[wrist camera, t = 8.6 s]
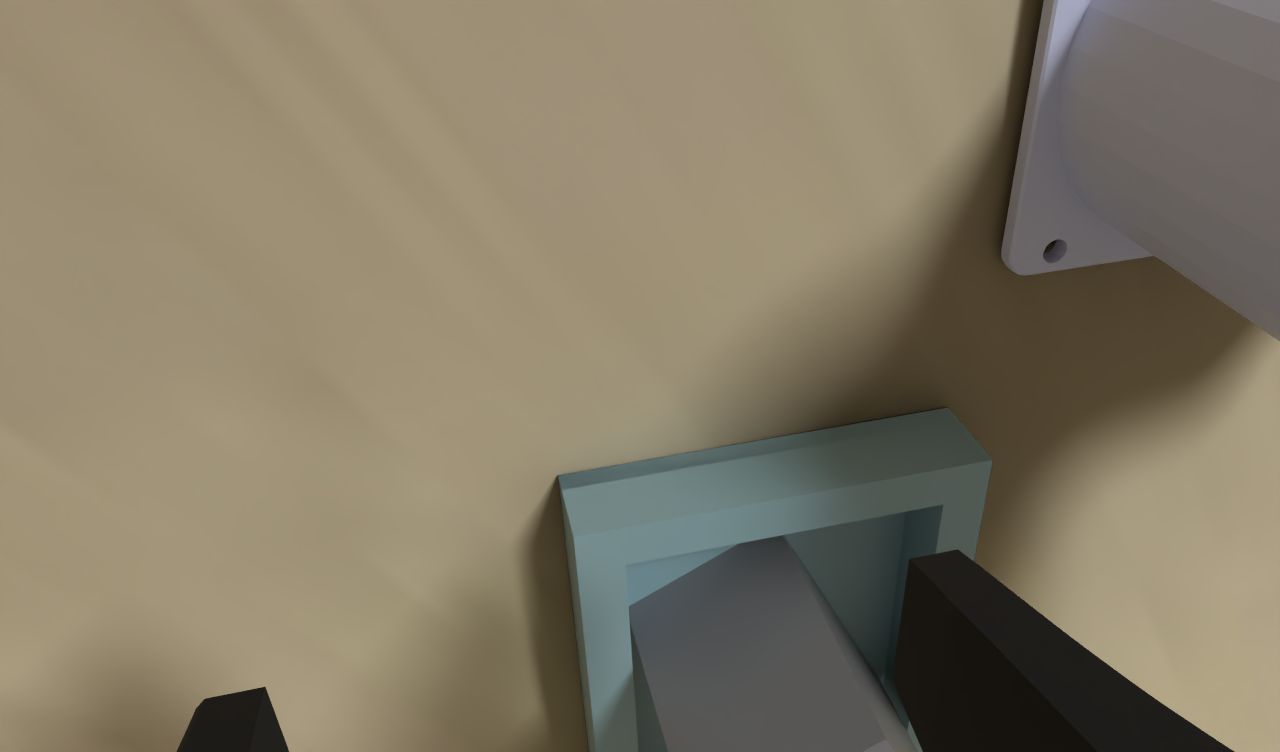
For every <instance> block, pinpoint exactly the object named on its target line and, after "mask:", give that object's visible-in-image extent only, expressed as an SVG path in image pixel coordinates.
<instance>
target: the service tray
mask: <svg viewBox="0 0 1280 752" xmlns="http://www.w3.org/2000/svg"><path fill="white" fill-rule="evenodd" d="M992 463H993V459H992V458H991V457H990V456H989V455H988V453H987V452H986V451H985V450H984V449H983V447H982V446H981V445H980V444H979V443H978V442H977V440H976V439H975V438H974V437H973V436H972V434H971V433H970V432H969V431H968V430H967V429H966V427H965V426H964V425H963V424H962V423H961V421H960V420H959V419H958V418H957V417H956V416H955V414H954V413H953V412H952V411H951V410H950V408H943V409H937V410H931V411H926V412H920V413H914V414H908V415H903V416H897V417H891V418H885V419H880V420H874V421H868V422H862V423H857V424H851V425H845V426H839V427H834V428H828V429H822V430H816V431H811V432H805V433H799V434H793V435H788V436H782V437H776V438H770V439H765V440H759V441H753V442H747V443H742V444H736V445H730V446H724V447H719V448H713V449H707V450H701V451H696V452H690V453H684V454H678V455H673V456H667V457H661V458H655V459H650V460H644V461H638V462H633V463H627V464H621V465H615V466H610V467H604V468H598V469H592V470H587V471H581V472H575V473H569V474H564V475H558V481H559V490H560V499H561V508H562V517H563V526H564V535H565V544H566V553H567V562H568V571H569V580H570V589H571V598H572V607H573V616H574V625H575V634H576V643H577V652H578V661H579V670H580V679H581V688H582V697H583V706H584V715H585V724H586V733H587V742H588V751H589V752H668V750H667V746H666V743H665V740H664V736H663V733H662V729H661V726H660V723H659V719H658V716H657V712H656V709H655V705H654V702H653V699H652V695H651V692H650V688H649V685H648V682H647V678H646V675H645V671H644V668H643V664H642V661H641V658H640V654H639V651H638V647H637V644H636V641H635V637H634V634H633V630H632V627H631V624H630V620H629V606H630V605H632V604H634V603H635V602H637V601H639V600H641V599H643V598H644V597H646V596H648V595H650V594H651V593H653V592H655V591H657V590H658V589H660V588H662V587H664V586H665V585H667V584H669V583H671V582H672V581H674V580H676V579H678V578H679V577H681V576H683V575H685V574H686V573H688V572H690V571H692V570H693V569H695V568H697V567H699V566H700V565H702V564H704V563H706V562H707V561H709V560H711V559H713V558H714V557H716V556H718V555H720V554H721V553H723V552H725V551H727V550H728V549H730V548H732V547H734V546H735V545H737V544H739V543H744V542H749V541H754V540H760V539H765V538H770V537H775V536H781V535H785V537H786V538H787V540H788V541H789V543H790V545H791V546H792V548H793V549H794V551H795V552H796V554H797V555H798V557H799V558H800V560H801V561H802V563H803V564H804V566H805V567H806V569H807V570H808V572H809V573H810V575H811V576H812V578H813V579H814V581H815V582H816V584H817V585H818V587H819V588H820V590H821V591H822V593H823V595H824V596H825V598H826V599H827V601H828V602H829V604H830V605H831V607H832V608H833V610H834V611H835V613H836V614H837V616H838V617H839V619H840V620H841V622H842V623H843V625H844V626H845V628H846V629H847V631H848V632H849V634H850V635H851V637H852V638H853V640H854V641H855V643H856V645H857V646H858V648H859V649H860V651H861V652H862V654H863V655H864V657H865V658H866V660H867V661H868V663H869V664H870V666H871V667H872V669H873V670H874V672H875V673H876V675H877V676H878V678H879V679H880V681H881V683H882V685H883V687H884V689H885V691H886V692H887V694H888V696H889V698H890V700H891V702H892V704H893V706H894V707H895V709H896V711H897V713H898V715H899V717H900V719H901V721H902V722H903V724H904V726H905V728H906V730H907V732H908V734H909V735H910V737H911V739H912V741H913V743H914V745H915V747H916V749H917V750H918V752H923V751H922V749H921V746H920V744H919V742H918V739H917V737H916V735H915V733H914V730H913V728H912V726H911V723H910V721H909V718H908V716H907V713H906V711H905V708H904V706H903V704H902V701H901V699H900V696H899V694H898V691H897V689H896V686H895V684H894V681H893V679H892V677H893V670H894V663H895V655H896V648H897V641H898V634H899V627H900V620H901V613H902V606H903V599H904V591H905V584H906V577H907V570H908V563H909V559H911V558H916V557H921V556H926V555H932V554H937V553H942V552H947V551H952V550H957V549H958V550H960V551H961V552H962V553H963V554H965V555H966V556H967V557H969V558H970V559H971V560H973V561H974V558H975V553H976V548H977V542H978V537H979V532H980V527H981V521H982V516H983V511H984V505H985V500H986V495H987V489H988V484H989V479H990V474H991V468H992Z"/></svg>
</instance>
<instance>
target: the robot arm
mask: <svg viewBox="0 0 1280 752" xmlns="http://www.w3.org/2000/svg"><path fill="white" fill-rule="evenodd" d="M1054 240H1056V243H1055V245H1054V247H1053V248H1052V249H1051V250H1050V251H1049V252H1048V253H1045V254H1043V252H1044V250H1045V248H1046V246H1047V245H1048V244H1049V243H1051V242H1052V241H1054ZM1001 255H1002V260H1003V262H1004V264H1005V265H1006V266H1007V267H1008V268H1009V269H1010V270H1012V271H1013V272H1015V273H1016V274H1018V275H1034V274H1040V273H1047V272H1053V271H1060V270H1066V269H1073V268H1079V267H1086V266H1092V265H1099V264H1105V263H1112V262H1118V261H1125V260H1132V259H1138V258H1145V257H1151V256H1155V257H1157V258H1158V259H1160V260H1161V261H1163V262H1164V263H1166V264H1167V265H1169V266H1170V267H1171V268H1173V269H1174V270H1176V271H1177V272H1179V273H1180V274H1182V275H1183V276H1185V277H1186V278H1188V279H1189V280H1191V281H1192V282H1193V283H1195V284H1196V285H1198V286H1199V287H1201V288H1202V289H1204V290H1205V291H1207V292H1208V293H1210V294H1211V295H1213V296H1214V297H1215V298H1217V299H1218V300H1220V301H1221V302H1223V303H1224V304H1226V305H1227V306H1229V307H1230V308H1232V309H1233V310H1235V311H1236V312H1237V313H1239V314H1240V315H1242V316H1243V317H1245V318H1246V319H1248V320H1249V321H1251V322H1252V323H1254V324H1255V325H1257V326H1258V327H1260V328H1261V329H1262V330H1264V331H1265V332H1267V333H1268V334H1270V335H1271V336H1273V337H1274V338H1276V339H1277V340H1279V341H1280V0H1044V2H1043V8H1042V14H1041V20H1040V26H1039V32H1038V38H1037V44H1036V50H1035V55H1034V61H1033V67H1032V73H1031V79H1030V85H1029V91H1028V97H1027V103H1026V108H1025V114H1024V120H1023V126H1022V132H1021V138H1020V144H1019V150H1018V156H1017V161H1016V167H1015V173H1014V179H1013V185H1012V191H1011V197H1010V203H1009V209H1008V214H1007V220H1006V226H1005V232H1004V238H1003V244H1002V250H1001ZM892 679H893V681H894V684H895V686H896V689H897V691H898V694H899V696H900V699H901V701H902V704H903V706H904V708H905V711H906V713H907V716H908V718H909V721H910V723H911V726H912V728H913V730H914V733H915V735H916V737H917V739H918V742H919V744H920V746H921V749H922V751H923V752H1234V751H1233V750H1231V749H1229V748H1228V747H1226V746H1225V745H1223V744H1222V743H1220V742H1219V741H1217V740H1216V739H1214V738H1213V737H1211V736H1210V735H1208V734H1207V733H1205V732H1204V731H1202V730H1201V729H1199V728H1198V727H1196V726H1195V725H1193V724H1192V723H1190V722H1189V721H1187V720H1186V719H1184V718H1183V717H1181V716H1180V715H1178V714H1177V713H1175V712H1174V711H1172V710H1171V709H1169V708H1168V707H1166V706H1165V705H1163V704H1162V703H1160V702H1159V701H1158V700H1156V699H1155V698H1153V697H1152V696H1150V695H1149V694H1148V693H1146V692H1145V691H1143V690H1142V689H1141V688H1139V687H1138V686H1136V685H1135V684H1133V683H1132V682H1131V681H1129V680H1128V679H1127V678H1125V677H1124V676H1123V675H1121V674H1120V673H1118V672H1117V671H1116V670H1114V669H1113V668H1112V667H1110V666H1109V665H1108V664H1106V663H1105V662H1103V661H1102V660H1101V659H1099V658H1098V657H1097V656H1095V655H1094V654H1093V653H1091V652H1090V651H1089V650H1087V649H1086V648H1085V647H1083V646H1082V645H1081V644H1079V643H1078V642H1077V641H1075V640H1074V639H1073V638H1071V637H1070V636H1069V635H1067V634H1066V633H1065V632H1063V631H1062V630H1061V629H1060V628H1058V627H1057V626H1056V625H1054V624H1053V623H1052V622H1051V621H1049V620H1048V619H1047V618H1045V617H1044V616H1043V615H1042V614H1040V613H1039V612H1038V611H1036V610H1035V609H1034V608H1033V607H1031V606H1030V605H1029V604H1027V603H1026V602H1025V601H1024V600H1022V599H1021V598H1020V597H1018V596H1017V595H1016V594H1015V593H1013V592H1012V591H1011V590H1010V589H1008V588H1007V587H1006V586H1004V585H1003V584H1002V583H1001V582H999V581H998V580H997V579H996V578H994V577H993V576H992V575H990V574H989V573H988V572H987V571H985V570H984V569H983V568H982V567H980V566H979V565H978V564H976V563H975V562H974V561H973V560H971V559H970V558H969V557H967V556H966V555H965V554H963V553H962V552H961V551H960V550H958V549H957V550H952V551H947V552H942V553H937V554H932V555H926V556H921V557H916V558H911V559H909V563H908V570H907V577H906V584H905V591H904V599H903V606H902V613H901V620H900V627H899V634H898V641H897V648H896V655H895V663H894V670H893V677H892ZM177 752H289V750H288V747H287V745H286V742H285V739H284V736H283V734H282V731H281V728H280V726H279V723H278V720H277V717H276V715H275V712H274V709H273V707H272V704H271V701H270V698H269V696H268V693H267V690H266V687H262V688H257V689H252V690H247V691H242V692H237V693H232V694H227V695H222V696H217V697H212V698H207V699H204V700H203V701H202V703H201V704H200V705H199V706H198V707H197V708H196V710H195V712H194V715H193V717H192V719H191V721H190V724H189V726H188V728H187V730H186V732H185V735H184V737H183V739H182V741H181V743H180V745H179V748H178V750H177Z"/></svg>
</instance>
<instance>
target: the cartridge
mask: <svg viewBox="0 0 1280 752" xmlns="http://www.w3.org/2000/svg"><path fill="white" fill-rule="evenodd" d="M629 620H630V624H631V627H632V630H633V634H634V637H635V641H636V644H637V647H638V651H639V654H640V658H641V661H642V664H643V668H644V671H645V675H646V678H647V682H648V685H649V688H650V692H651V695H652V699H653V702H654V705H655V709H656V712H657V716H658V719H659V723H660V726H661V729H662V733H663V736H664V740H665V743H666V746H667V750H668V752H918V750H917V749H916V747H915V745H914V743H913V741H912V739H911V737H910V735H909V734H908V732H907V730H906V728H905V726H904V724H903V722H902V721H901V719H900V717H899V715H898V713H897V711H896V709H895V707H894V706H893V704H892V702H891V700H890V698H889V696H888V694H887V692H886V691H885V689H884V687H883V685H882V683H881V681H880V679H879V678H878V676H877V675H876V673H875V672H874V670H873V669H872V667H871V666H870V664H869V663H868V661H867V660H866V658H865V657H864V655H863V654H862V652H861V651H860V649H859V648H858V646H857V645H856V643H855V641H854V640H853V638H852V637H851V635H850V634H849V632H848V631H847V629H846V628H845V626H844V625H843V623H842V622H841V620H840V619H839V617H838V616H837V614H836V613H835V611H834V610H833V608H832V607H831V605H830V604H829V602H828V601H827V599H826V598H825V596H824V595H823V593H822V591H821V590H820V588H819V587H818V585H817V584H816V582H815V581H814V579H813V578H812V576H811V575H810V573H809V572H808V570H807V569H806V567H805V566H804V564H803V563H802V561H801V560H800V558H799V557H798V555H797V554H796V552H795V551H794V549H793V548H792V546H791V545H790V543H789V541H788V540H787V538H786V537H785V535H781V536H775V537H770V538H765V539H760V540H754V541H749V542H744V543H739V544H737V545H735V546H734V547H732V548H730V549H728V550H727V551H725V552H723V553H721V554H720V555H718V556H716V557H714V558H713V559H711V560H709V561H707V562H706V563H704V564H702V565H700V566H699V567H697V568H695V569H693V570H692V571H690V572H688V573H686V574H685V575H683V576H681V577H679V578H678V579H676V580H674V581H672V582H671V583H669V584H667V585H665V586H664V587H662V588H660V589H658V590H657V591H655V592H653V593H651V594H650V595H648V596H646V597H644V598H643V599H641V600H639V601H637V602H635V603H634V604H632V605H630V606H629Z"/></svg>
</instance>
